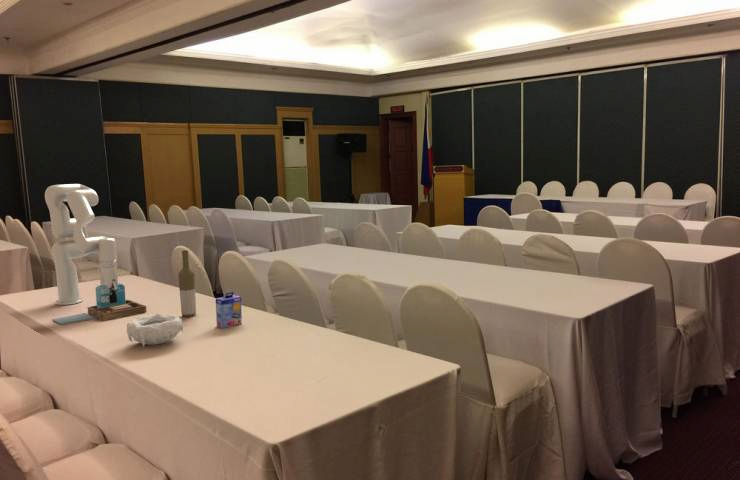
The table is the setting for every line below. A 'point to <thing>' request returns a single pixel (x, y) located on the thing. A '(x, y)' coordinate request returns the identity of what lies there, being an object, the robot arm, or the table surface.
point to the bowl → (154, 328)
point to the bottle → (187, 288)
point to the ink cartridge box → (228, 310)
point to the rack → (103, 315)
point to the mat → (73, 319)
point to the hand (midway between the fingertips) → (111, 301)
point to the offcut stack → (119, 308)
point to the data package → (104, 293)
